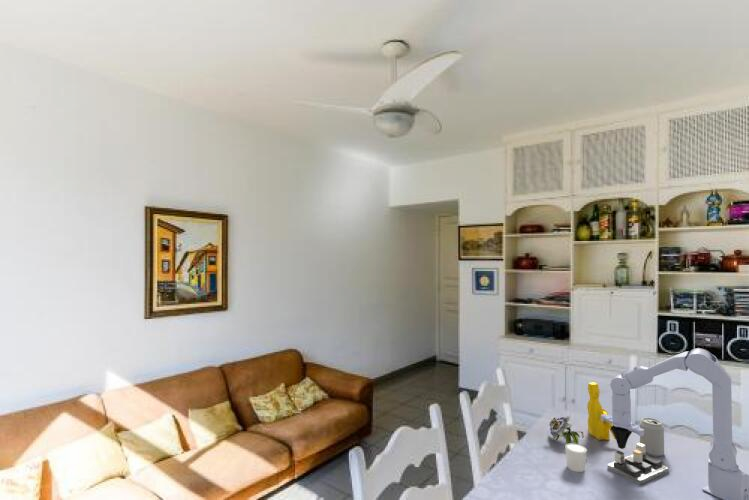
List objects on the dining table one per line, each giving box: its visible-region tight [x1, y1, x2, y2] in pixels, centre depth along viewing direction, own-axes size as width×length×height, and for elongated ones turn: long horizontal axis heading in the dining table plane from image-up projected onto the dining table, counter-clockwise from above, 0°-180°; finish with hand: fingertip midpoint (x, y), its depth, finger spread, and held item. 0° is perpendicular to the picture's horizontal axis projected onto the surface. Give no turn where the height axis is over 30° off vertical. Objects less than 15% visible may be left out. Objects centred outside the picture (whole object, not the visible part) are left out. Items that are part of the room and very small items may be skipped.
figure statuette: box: [586, 382, 616, 441], centre depth 163 cm, size 18×8×22 cm, turn 6°
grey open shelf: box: [607, 442, 670, 486], centre depth 139 cm, size 11×16×6 cm
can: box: [639, 417, 665, 457], centre depth 151 cm, size 8×8×12 cm
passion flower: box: [549, 416, 585, 444], centre depth 160 cm, size 11×11×12 cm
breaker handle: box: [632, 449, 643, 463], centre depth 139 cm, size 2×2×3 cm
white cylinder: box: [564, 442, 588, 473], centre depth 141 cm, size 7×7×7 cm
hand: (621, 447), depth 144 cm, fingers closed
